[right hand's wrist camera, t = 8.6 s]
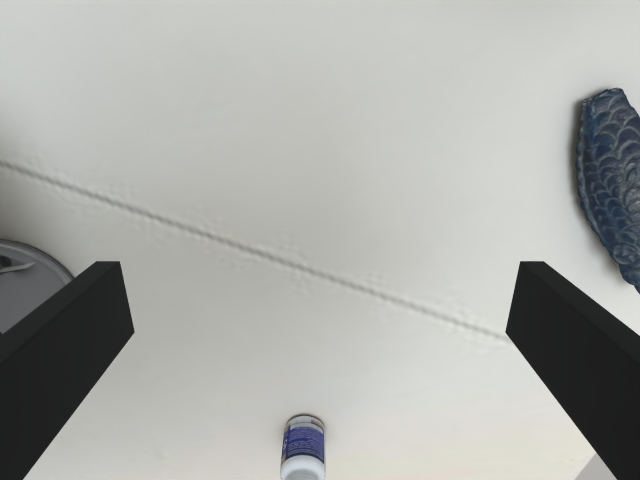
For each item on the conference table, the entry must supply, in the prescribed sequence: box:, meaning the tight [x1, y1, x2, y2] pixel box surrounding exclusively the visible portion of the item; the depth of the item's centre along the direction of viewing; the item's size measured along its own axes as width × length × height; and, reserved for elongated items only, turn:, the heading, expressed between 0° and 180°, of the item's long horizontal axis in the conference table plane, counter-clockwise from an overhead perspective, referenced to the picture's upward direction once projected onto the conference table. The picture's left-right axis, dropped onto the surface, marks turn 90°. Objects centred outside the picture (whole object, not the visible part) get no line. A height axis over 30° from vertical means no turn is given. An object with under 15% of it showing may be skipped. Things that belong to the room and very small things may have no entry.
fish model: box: [575, 88, 640, 294], centre depth 36 cm, size 7×21×5 cm, turn 27°
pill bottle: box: [280, 416, 326, 480], centre depth 45 cm, size 5×5×9 cm
